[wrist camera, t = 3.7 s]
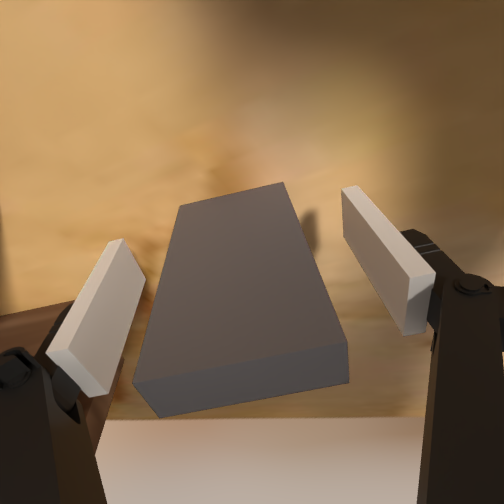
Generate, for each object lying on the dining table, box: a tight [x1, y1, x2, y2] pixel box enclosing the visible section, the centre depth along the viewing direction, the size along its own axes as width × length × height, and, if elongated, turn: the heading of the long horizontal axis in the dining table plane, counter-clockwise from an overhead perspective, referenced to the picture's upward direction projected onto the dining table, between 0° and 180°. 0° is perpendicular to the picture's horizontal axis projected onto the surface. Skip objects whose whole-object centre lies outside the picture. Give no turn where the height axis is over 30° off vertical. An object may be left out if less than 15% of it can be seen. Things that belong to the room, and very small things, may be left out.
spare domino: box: [132, 182, 349, 418], centre depth 13 cm, size 2×6×11 cm, turn 102°
